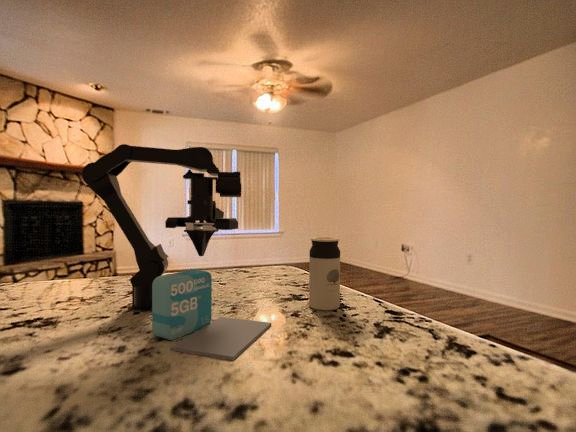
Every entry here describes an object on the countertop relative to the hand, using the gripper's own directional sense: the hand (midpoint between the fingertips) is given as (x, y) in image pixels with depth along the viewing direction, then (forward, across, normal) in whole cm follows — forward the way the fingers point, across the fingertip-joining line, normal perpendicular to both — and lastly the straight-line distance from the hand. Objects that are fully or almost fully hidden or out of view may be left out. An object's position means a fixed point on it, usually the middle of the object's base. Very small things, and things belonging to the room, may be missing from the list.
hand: (201, 256), depth 89 cm
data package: (+13, -7, +18) cm, 23 cm away
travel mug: (+13, -31, -9) cm, 35 cm away
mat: (+13, -17, +18) cm, 27 cm away
